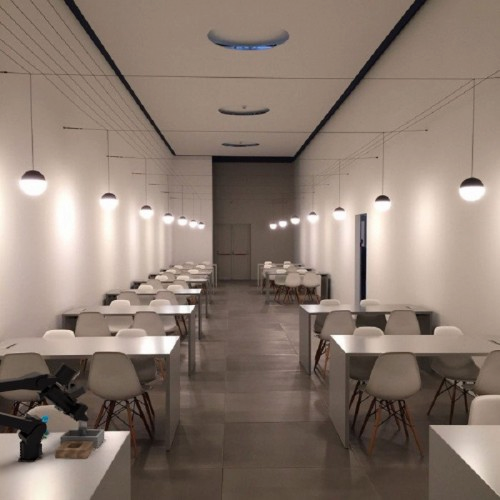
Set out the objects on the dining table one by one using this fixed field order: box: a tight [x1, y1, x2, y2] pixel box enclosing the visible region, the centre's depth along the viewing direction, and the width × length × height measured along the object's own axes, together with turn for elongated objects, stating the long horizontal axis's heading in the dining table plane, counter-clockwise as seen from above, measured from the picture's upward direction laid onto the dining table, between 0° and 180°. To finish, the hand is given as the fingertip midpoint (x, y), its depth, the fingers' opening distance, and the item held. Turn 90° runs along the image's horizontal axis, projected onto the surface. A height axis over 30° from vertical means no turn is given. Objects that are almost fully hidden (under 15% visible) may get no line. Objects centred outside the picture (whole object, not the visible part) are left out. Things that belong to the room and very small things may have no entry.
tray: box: [59, 428, 105, 449], centre depth 197 cm, size 14×8×4 cm, turn 88°
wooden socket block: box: [54, 441, 95, 459], centre depth 188 cm, size 11×8×3 cm
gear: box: [40, 414, 50, 438], centre depth 206 cm, size 11×6×10 cm
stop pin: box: [77, 410, 88, 436], centre depth 197 cm, size 3×3×11 cm
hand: (85, 419), depth 198 cm, fingers closed on stop pin, 3 cm apart
